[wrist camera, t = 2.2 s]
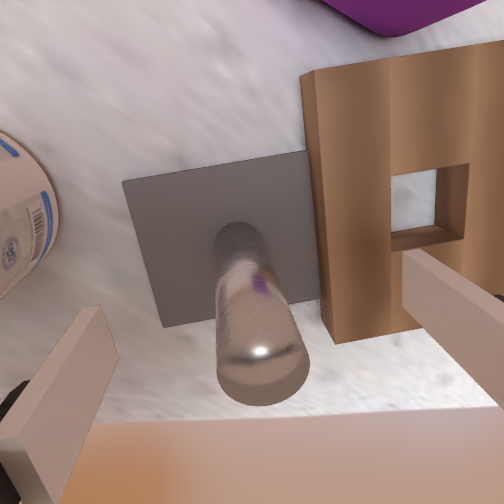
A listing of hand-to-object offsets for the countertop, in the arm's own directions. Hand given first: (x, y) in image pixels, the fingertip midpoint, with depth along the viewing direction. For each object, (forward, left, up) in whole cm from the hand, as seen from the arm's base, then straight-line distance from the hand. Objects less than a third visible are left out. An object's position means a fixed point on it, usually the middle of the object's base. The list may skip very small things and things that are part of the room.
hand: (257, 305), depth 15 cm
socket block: (+11, +1, -8) cm, 13 cm away
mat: (0, 0, -8) cm, 8 cm away
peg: (0, 0, -8) cm, 8 cm away
